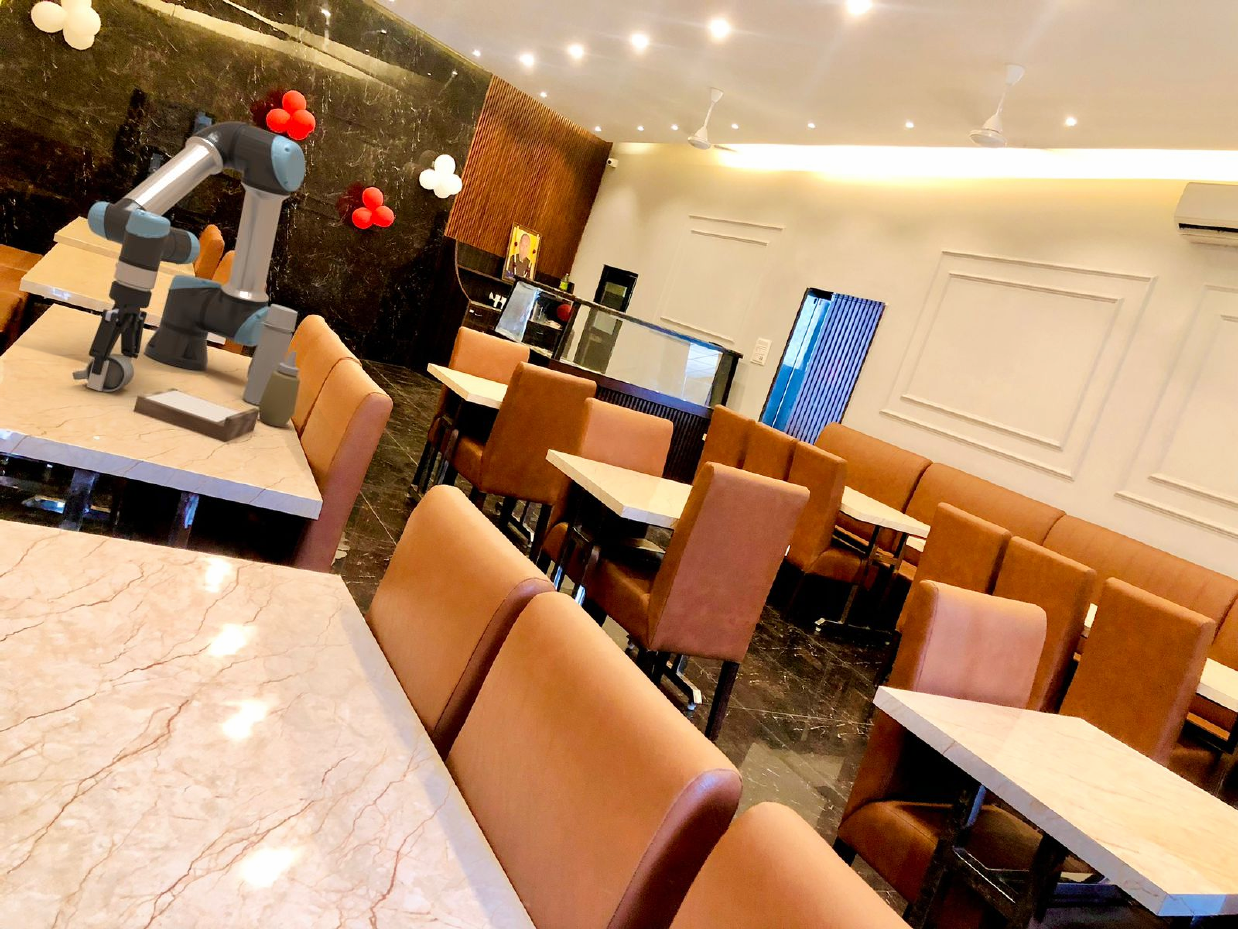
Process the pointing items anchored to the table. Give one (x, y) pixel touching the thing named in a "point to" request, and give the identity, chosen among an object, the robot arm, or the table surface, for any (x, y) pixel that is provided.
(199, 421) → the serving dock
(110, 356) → the ceramic mug
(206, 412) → the mat
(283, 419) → the squeeze bottle
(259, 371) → the water bottle
